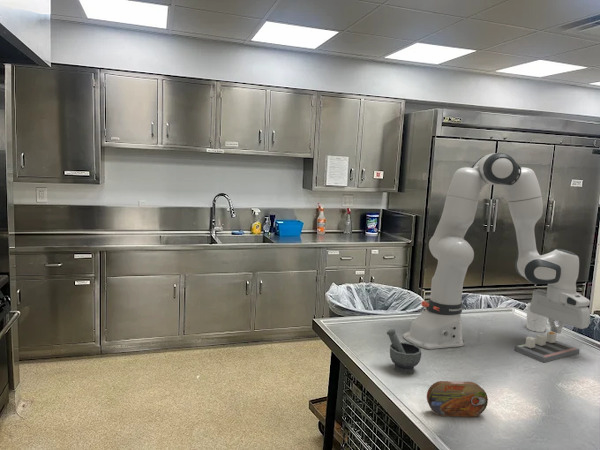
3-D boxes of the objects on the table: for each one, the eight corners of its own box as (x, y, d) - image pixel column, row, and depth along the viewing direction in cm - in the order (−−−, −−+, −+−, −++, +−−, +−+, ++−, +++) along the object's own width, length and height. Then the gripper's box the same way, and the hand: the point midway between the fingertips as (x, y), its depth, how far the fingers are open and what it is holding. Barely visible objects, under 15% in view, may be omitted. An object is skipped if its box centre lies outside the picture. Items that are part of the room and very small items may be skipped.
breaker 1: (530, 348, 157) (531, 339, 157) (525, 346, 159) (526, 337, 159) (534, 347, 159) (535, 338, 158) (529, 345, 160) (530, 336, 160)
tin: (427, 415, 114) (430, 384, 113) (424, 409, 117) (426, 378, 116) (486, 418, 114) (490, 386, 113) (481, 411, 117) (484, 380, 116)
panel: (544, 362, 150) (544, 358, 150) (514, 350, 160) (515, 346, 160) (578, 353, 160) (579, 348, 160) (549, 342, 169) (549, 338, 169)
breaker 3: (551, 343, 163) (552, 333, 163) (546, 341, 165) (547, 332, 164) (555, 342, 164) (556, 333, 164) (550, 340, 166) (551, 331, 166)
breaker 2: (541, 345, 160) (542, 337, 160) (535, 343, 162) (536, 335, 162) (545, 344, 161) (546, 336, 161) (540, 342, 163) (541, 334, 163)
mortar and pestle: (423, 368, 142) (426, 331, 140) (415, 379, 134) (418, 340, 132) (389, 359, 148) (392, 324, 146) (379, 369, 140) (381, 332, 138)
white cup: (541, 326, 187) (544, 303, 186) (550, 333, 179) (552, 309, 178) (521, 325, 188) (524, 302, 187) (529, 331, 180) (532, 307, 179)
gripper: (528, 287, 168) (523, 323, 170) (584, 303, 150) (578, 343, 152) (539, 286, 171) (534, 321, 173) (595, 302, 153) (589, 341, 155)
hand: (555, 332), depth 162 cm, fingers closed
